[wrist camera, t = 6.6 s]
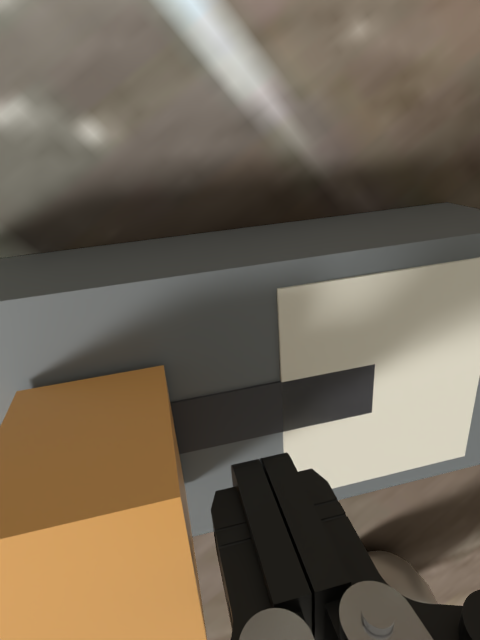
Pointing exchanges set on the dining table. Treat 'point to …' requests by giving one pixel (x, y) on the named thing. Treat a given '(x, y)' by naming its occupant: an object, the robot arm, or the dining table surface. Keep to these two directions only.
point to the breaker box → (274, 341)
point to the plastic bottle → (402, 577)
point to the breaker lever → (96, 514)
